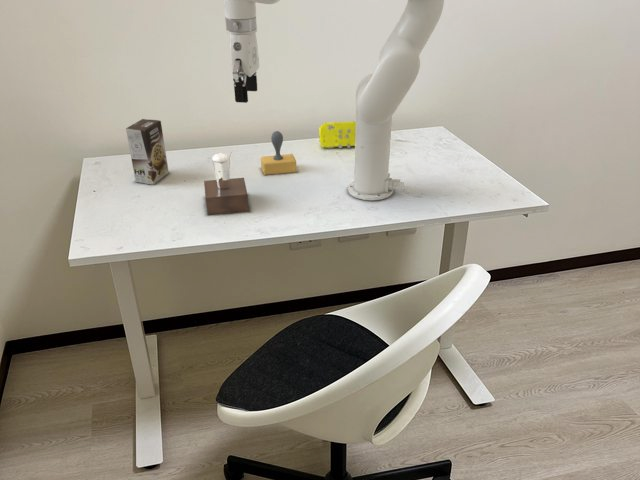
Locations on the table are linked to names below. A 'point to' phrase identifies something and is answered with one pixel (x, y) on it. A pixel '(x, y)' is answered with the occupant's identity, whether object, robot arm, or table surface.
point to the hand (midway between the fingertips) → (246, 96)
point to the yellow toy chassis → (337, 134)
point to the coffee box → (147, 151)
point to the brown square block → (226, 197)
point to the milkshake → (222, 170)
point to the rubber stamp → (278, 159)
